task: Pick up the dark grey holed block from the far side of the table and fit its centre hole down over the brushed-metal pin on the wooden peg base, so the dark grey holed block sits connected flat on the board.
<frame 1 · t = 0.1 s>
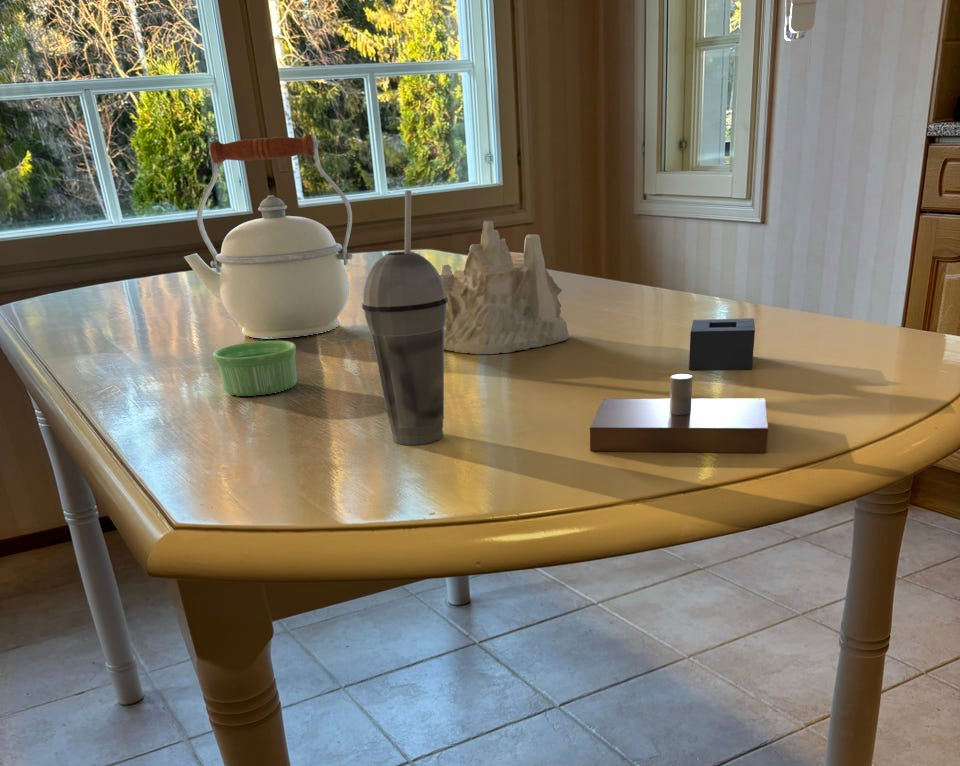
hand: (797, 36, 77), 29 cm above the table, tool pointing down, fingers open, 8 cm apart
dark grey holed block: (720, 362, 101), on the table
wooden peg base: (679, 435, 79), on the table
beverage cup: (418, 439, 83), on the table
ramekin: (261, 390, 104), on the table
kettle: (281, 332, 136), on the table
white castle figurine: (498, 342, 119), on the table
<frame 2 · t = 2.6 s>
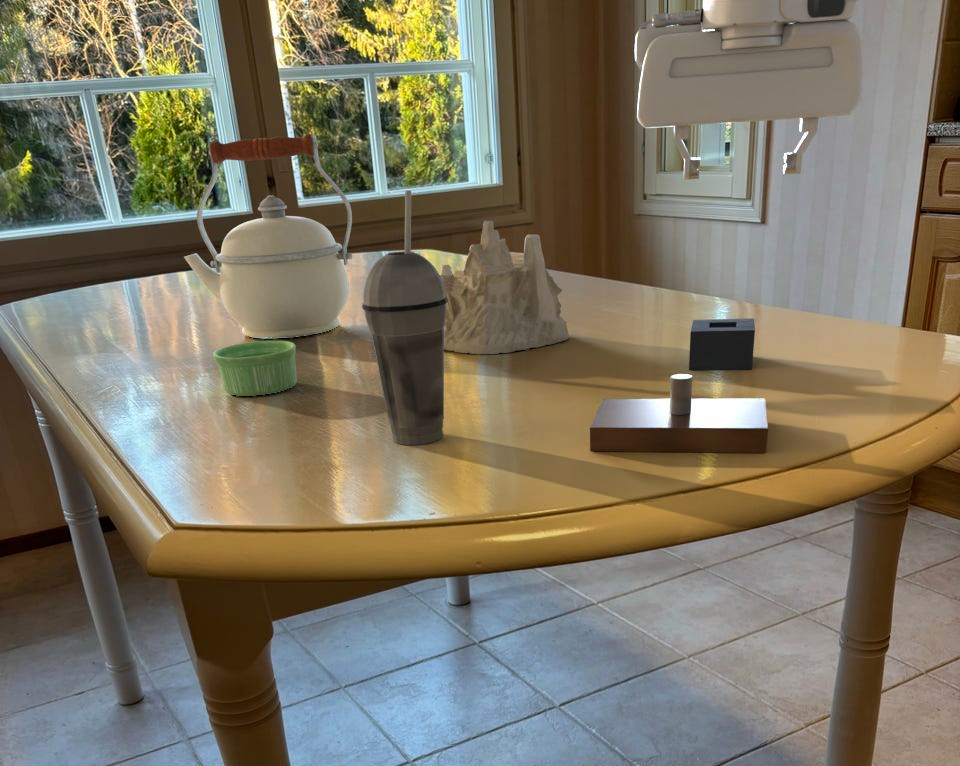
hand: (740, 176, 90), 18 cm above the table, tool pointing down, fingers open, 8 cm apart
nothing on the table moved.
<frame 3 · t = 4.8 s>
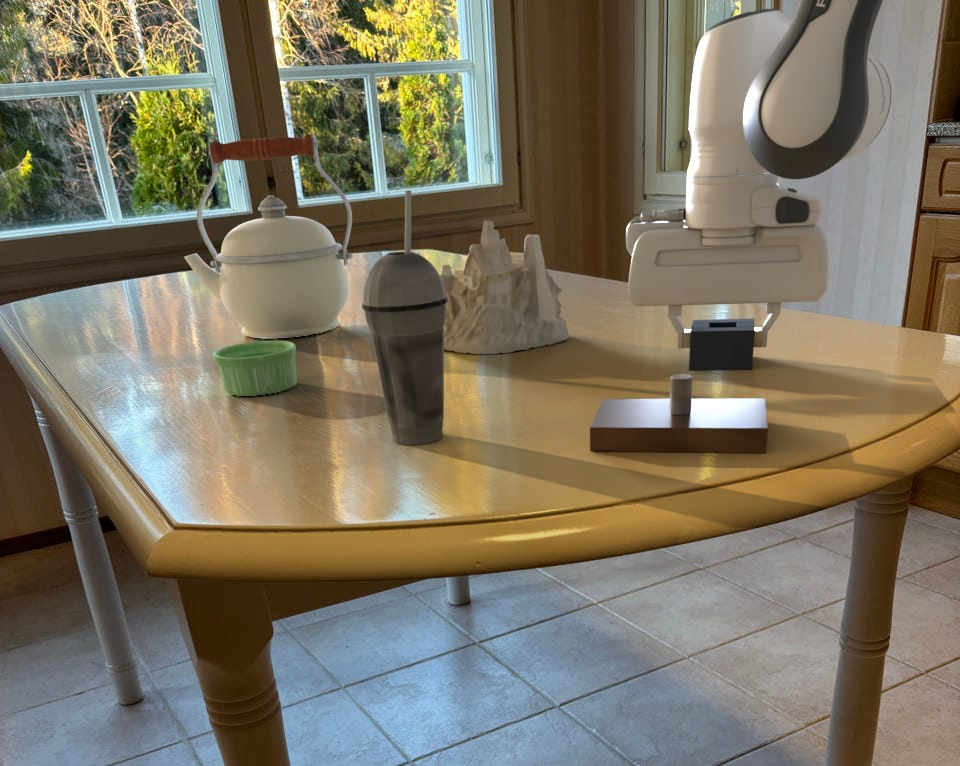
hand: (721, 347, 100), 2 cm above the table, tool pointing down, fingers closed on dark grey holed block, 6 cm apart
dark grey holed block: (720, 362, 101), on the table, touching gripper
everything else where it was.
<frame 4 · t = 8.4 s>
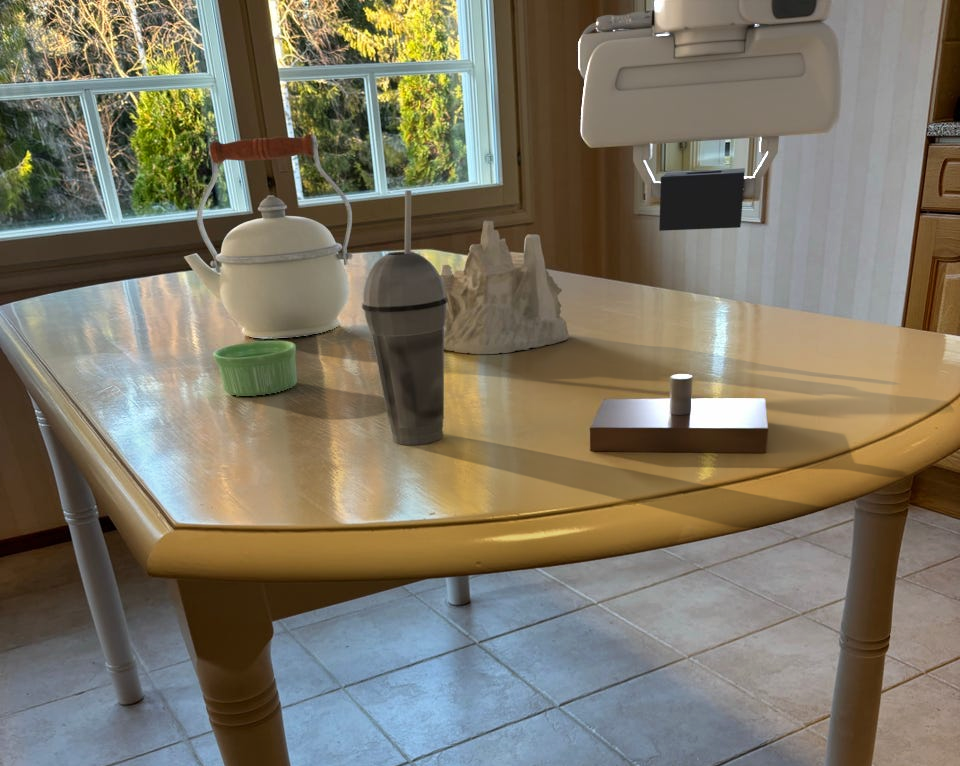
hand: (702, 203, 78), 17 cm above the table, tool pointing down, fingers closed on dark grey holed block, 6 cm apart
dark grey holed block: (701, 225, 79), point 16 cm above the table, touching gripper
everything else where it was.
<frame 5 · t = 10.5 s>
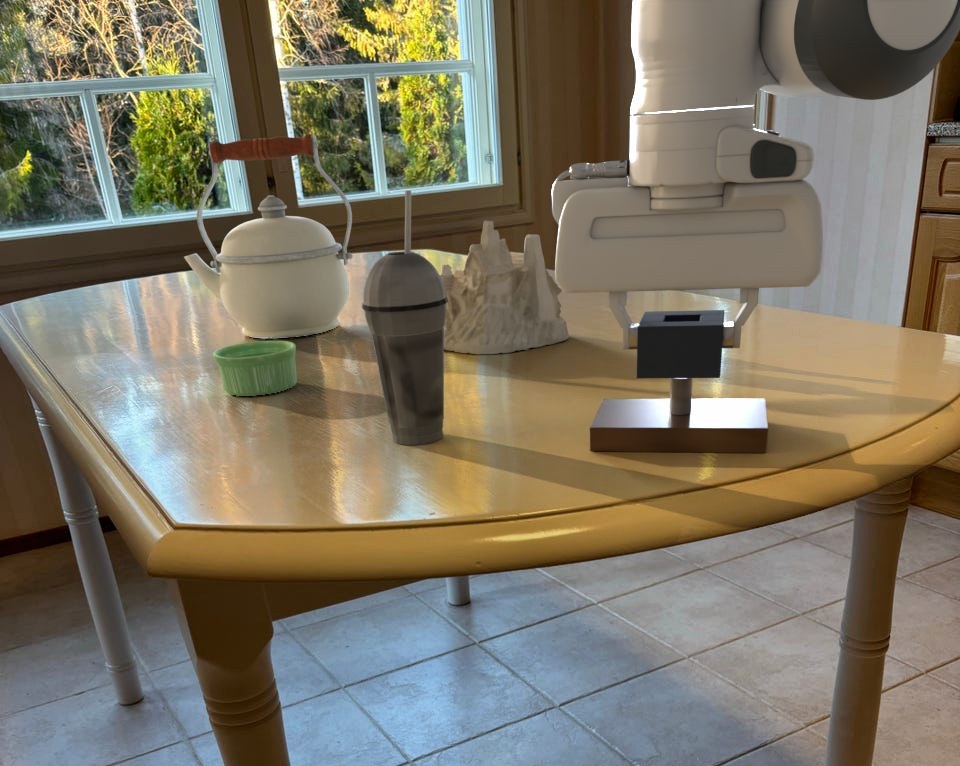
hand: (681, 347, 75), 7 cm above the table, tool pointing down, fingers closed on dark grey holed block, 6 cm apart
dark grey holed block: (680, 368, 76), point 6 cm above the table, touching gripper
everything else where it was.
when the fingers open (4 cm above the table, at t = 12.1 s): dark grey holed block stays where it is, resting on wooden peg base.
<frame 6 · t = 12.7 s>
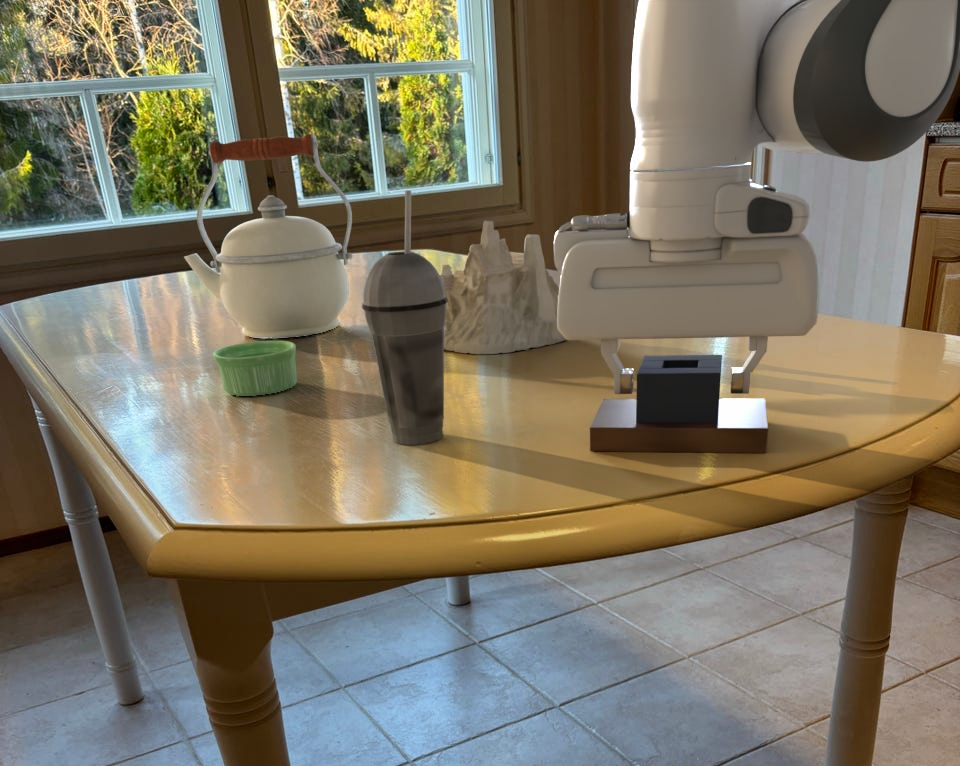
hand: (680, 392, 77), 4 cm above the table, tool pointing down, fingers open, 8 cm apart
dark grey holed block: (678, 412, 78), point 2 cm above the table, touching wooden peg base
everything else where it was.
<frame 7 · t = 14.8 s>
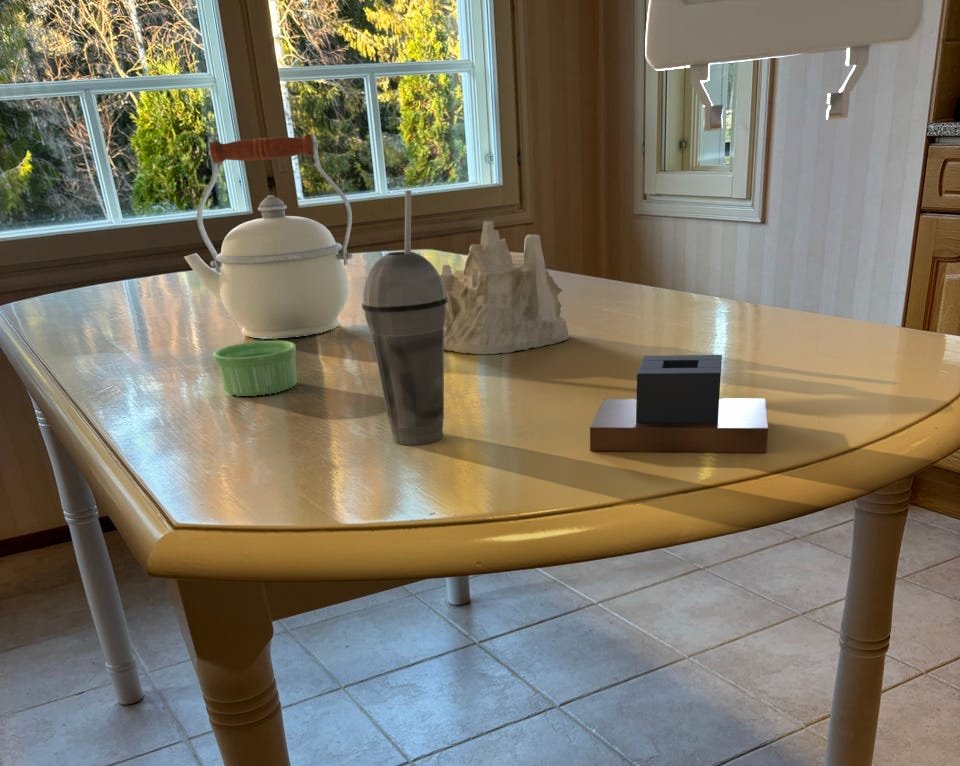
hand: (773, 124, 74), 23 cm above the table, tool pointing down, fingers open, 8 cm apart
nothing on the table moved.
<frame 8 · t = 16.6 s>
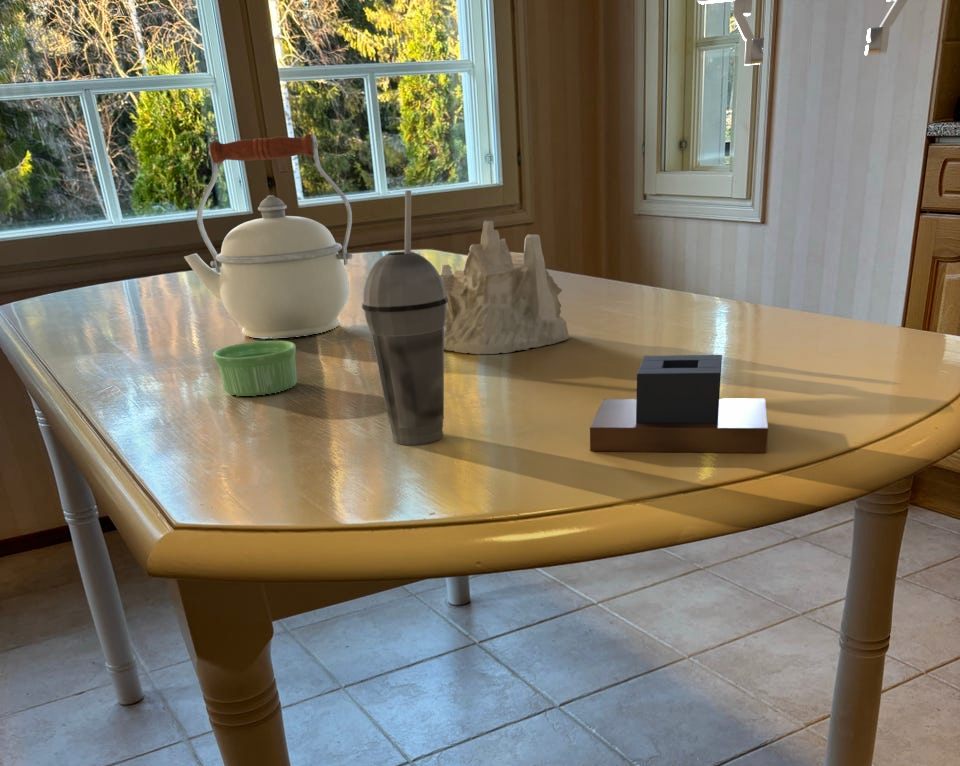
hand: (813, 59, 75), 27 cm above the table, tool pointing down, fingers open, 8 cm apart
nothing on the table moved.
at the end: dark grey holed block 0.1 cm off-centre on the wooden peg base, point 2.0 cm above the wooden peg base's base; dark grey holed block tilted 0°; the gripper is holding nothing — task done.
